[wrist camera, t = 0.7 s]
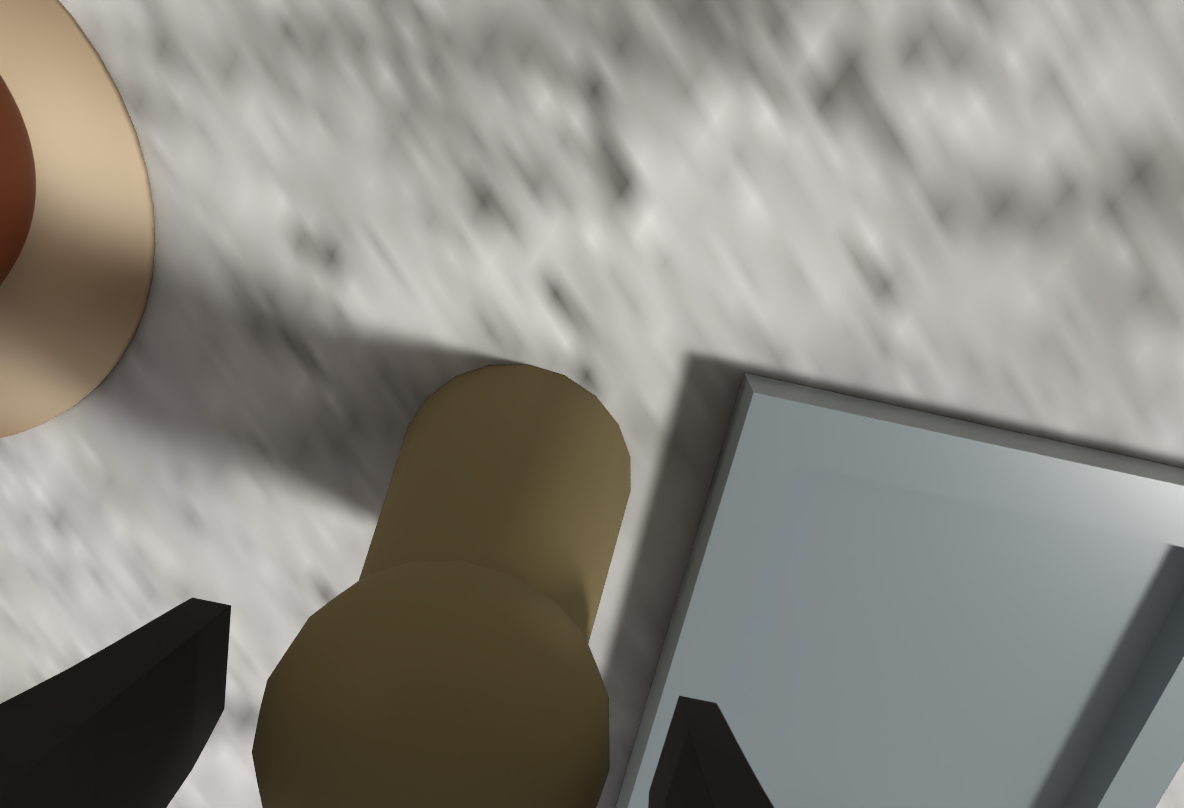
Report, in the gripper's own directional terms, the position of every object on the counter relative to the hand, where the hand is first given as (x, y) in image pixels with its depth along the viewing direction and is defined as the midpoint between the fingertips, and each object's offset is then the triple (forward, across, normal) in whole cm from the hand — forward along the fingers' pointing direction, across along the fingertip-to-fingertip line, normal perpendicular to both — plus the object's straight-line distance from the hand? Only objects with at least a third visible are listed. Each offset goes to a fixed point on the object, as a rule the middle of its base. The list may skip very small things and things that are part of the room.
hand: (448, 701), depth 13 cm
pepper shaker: (+9, 0, 0) cm, 9 cm away
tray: (+9, -12, +6) cm, 16 cm away
